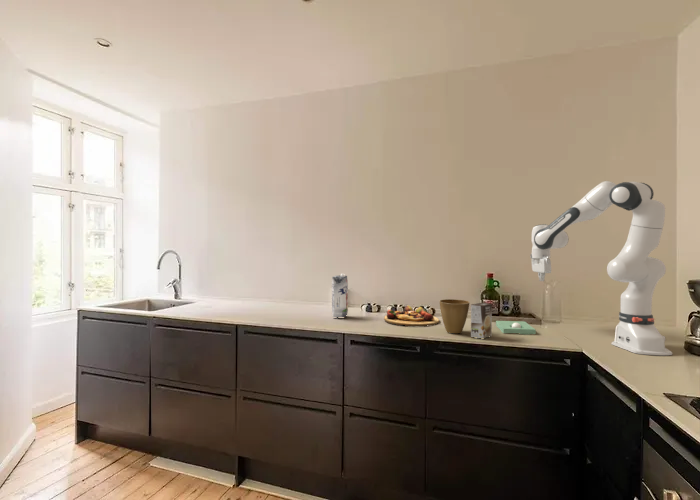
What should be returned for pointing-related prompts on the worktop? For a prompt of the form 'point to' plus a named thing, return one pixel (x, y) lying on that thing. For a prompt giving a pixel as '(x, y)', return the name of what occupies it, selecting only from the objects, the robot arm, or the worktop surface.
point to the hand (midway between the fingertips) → (541, 281)
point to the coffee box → (481, 320)
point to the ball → (516, 325)
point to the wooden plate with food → (411, 317)
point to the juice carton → (339, 296)
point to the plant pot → (454, 314)
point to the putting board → (507, 328)
